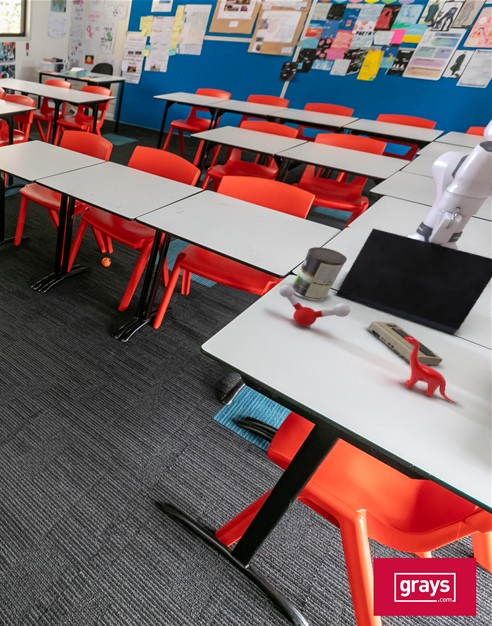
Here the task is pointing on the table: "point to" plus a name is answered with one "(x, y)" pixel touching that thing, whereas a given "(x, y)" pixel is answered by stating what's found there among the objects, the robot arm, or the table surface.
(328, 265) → the coffee can
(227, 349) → the table surface
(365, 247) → the laptop screen
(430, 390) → the dinosaur
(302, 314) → the molecular model
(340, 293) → the laptop
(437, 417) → the table surface
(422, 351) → the computer
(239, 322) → the table surface
